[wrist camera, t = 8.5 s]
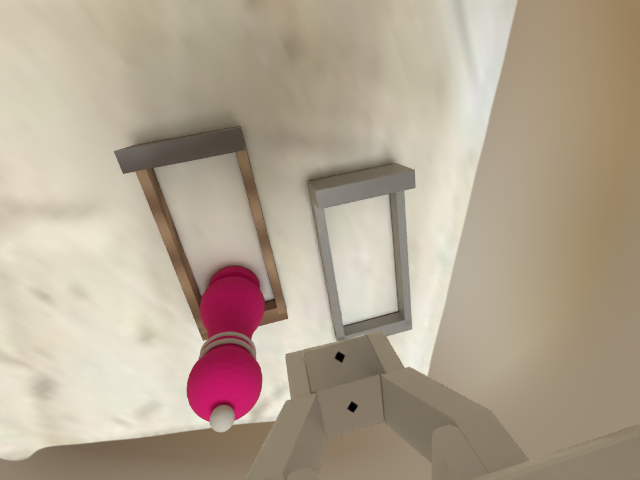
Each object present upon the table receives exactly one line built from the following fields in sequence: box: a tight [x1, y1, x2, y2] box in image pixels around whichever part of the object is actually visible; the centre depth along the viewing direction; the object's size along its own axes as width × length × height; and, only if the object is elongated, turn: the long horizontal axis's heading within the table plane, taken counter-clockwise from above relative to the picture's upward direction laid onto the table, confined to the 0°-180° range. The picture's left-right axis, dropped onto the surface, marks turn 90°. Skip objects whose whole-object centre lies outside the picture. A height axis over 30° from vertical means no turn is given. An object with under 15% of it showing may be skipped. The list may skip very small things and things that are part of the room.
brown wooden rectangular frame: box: [114, 126, 288, 341], centre depth 36 cm, size 24×11×5 cm, turn 10°
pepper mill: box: [187, 266, 265, 432], centre depth 32 cm, size 7×7×20 cm
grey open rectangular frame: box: [308, 163, 415, 341], centre depth 41 cm, size 24×11×5 cm, turn 10°
